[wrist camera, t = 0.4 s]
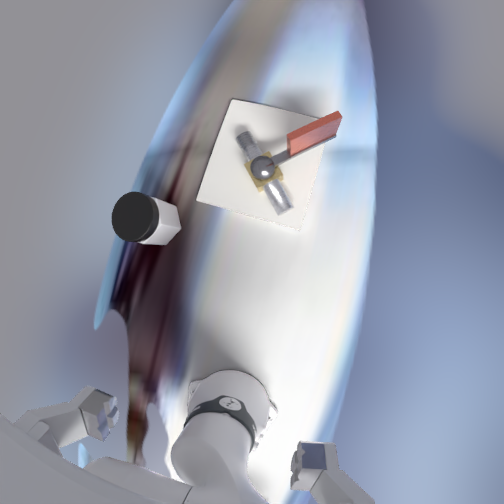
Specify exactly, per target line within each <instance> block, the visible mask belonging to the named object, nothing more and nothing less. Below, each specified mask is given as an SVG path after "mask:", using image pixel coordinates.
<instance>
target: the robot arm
mask: <svg viewBox="0 0 504 504" xmlns="http://www.w3.org/2000/svg"><path fill="white" fill-rule="evenodd" d="M193 391H194V392H193ZM116 404H117V399H116V397H114V396H111V395H109V394H107V393H105V392H102V391H100V390H98V389H96V388H93V387H91V386H89V385H87V386H85V387H84V388H83V389H82V390H81V391H80V392H79V393H78V394H77V395H76V396H75V397H74V398H73V399H72V400H71V401H70V402H69V403H67V402H64V403H60V404H56V405H51V406H47V407H43V408H38V409H34V410H29V411H27V412H26V413H25V414H23V415H22V416H21V417H20V418H19V419H18V420H17V421H16V422H15V423H14V424H13V423H12V422H10V421H9V420H8V419H7V418H6V417H4V416H3V415H2V414H1V413H0V504H269V503H268V502H267V501H266V500H265V499H263V498H262V496H261V495H260V494H259V493H258V492H257V491H256V489H255V488H254V486H253V485H252V483H251V481H250V479H249V476H248V472H247V468H248V458H249V453H250V452H251V451H255V450H256V448H257V446H258V442H257V441H258V440H261V439H262V437H263V433H264V432H265V431H266V429H267V428H268V427H269V426H270V424H271V423H272V422H273V420H274V419H275V418H276V416H277V414H278V411H277V409H276V408H275V407H274V405H273V404H272V403H271V402H270V401H269V398H268V395H267V392H266V390H265V389H264V387H263V386H262V384H261V383H260V382H259V381H258V380H256V379H255V378H254V377H252V376H250V375H249V374H246V373H244V372H240V371H236V370H223V371H218V372H216V373H213V374H211V375H210V376H208V377H207V378H205V379H203V380H197V381H193V382H191V383H190V385H189V399H188V404H187V405H188V417H187V418H186V422H185V424H184V428H183V431H182V432H181V434H180V435H179V437H178V439H177V440H176V442H175V443H174V445H173V447H172V450H171V461H172V464H173V467H174V469H175V471H176V473H177V474H178V476H179V477H180V478H181V480H182V481H183V482H185V483H186V484H185V483H182V482H179V481H177V480H174V479H171V478H168V477H166V476H163V475H161V474H158V473H156V472H154V471H151V470H149V469H147V468H144V467H142V466H138V465H135V464H131V463H128V462H124V461H121V460H117V459H114V458H111V457H102V458H99V459H96V460H94V461H92V462H90V463H89V464H87V465H86V466H85V467H84V468H83V469H82V468H80V467H78V466H77V465H75V464H73V463H71V462H69V461H68V460H66V459H64V458H63V456H62V454H61V452H60V450H59V448H61V447H63V446H66V445H68V444H71V443H73V442H75V441H78V440H80V439H82V438H84V437H87V436H88V435H89V436H91V437H94V438H96V439H98V440H100V441H103V442H104V441H105V439H106V438H107V436H108V435H109V434H110V431H109V429H110V428H113V427H114V426H115V425H116V424H117V421H118V418H119V410H118V409H117V407H116V406H115V405H116ZM269 416H270V418H269ZM291 471H292V472H293V475H292V477H291V490H302V491H310V493H311V494H312V496H313V497H314V499H315V500H316V501H317V503H318V504H375V502H374V500H373V499H372V498H371V497H370V496H369V495H368V494H367V493H366V492H365V491H364V490H363V489H362V488H361V487H359V486H358V485H357V484H356V483H355V482H354V481H353V480H352V479H351V478H350V477H349V476H348V475H347V474H346V473H345V472H344V471H343V470H339V465H338V458H337V451H336V445H335V443H327V442H323V443H322V442H310V441H300V442H299V443H298V445H297V451H295V452H294V455H293V458H292V462H291Z"/></svg>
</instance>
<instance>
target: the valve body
mask: <svg viewBox="0 0 504 504" xmlns="http://www.w3.org/2000/svg"><path fill="white" fill-rule="evenodd" d="M235 140H236V142H237V144H238V146H239V147H240V149H241V151H242V153H243V154H244V156H245V158H246V159H247V161H248V162H247V163H245V164H244V166H245V168H246V170H247V172H248V173H249V175H250V177H251V179H252V181H253V182H254V184H255V186H256V188H257V190H258V191H259V192H261V191H263V190H264V191H265V193H266V195H267V197H268V199H269V200H270V202H271V204H272V206H273V208H274V209H275V211H276V213H277V215H278V216H279V215H282V214H284V213H286V212H288V211H290V210H291V209H293V208H294V205H293V204H292V202H291V200H290V198H289V197H288V195H287V193H286V191H285V189H284V188H283V186H282V184H281V182H280V181H282V180H284V179H283V174H282V172H281V170H280V168H279V167H278V166H277V167H275V171H274V174H273V175H272V176H271V177H270V178H269V179H266V180H259V179H257V178H255V177H254V176H253V174H252V172H251V169H250V165H251V162H252V161H253V159H255V158H256V157H258V156H267V157H269V158H271V157H272V155H271V153H270V152H269V151H268V152H266V153H263V152H262V150H261V148H260V147H259V145H258V143H257V142H256V140H255V138H254V137H253V135H252V133H251V132H250V131H247V132H243V133H241V134H240V135H238V136H237V137H236V139H235Z"/></svg>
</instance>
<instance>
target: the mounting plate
mask: <svg viewBox="0 0 504 504" xmlns="http://www.w3.org/2000/svg"><path fill="white" fill-rule="evenodd" d="M316 120H318V119H317V118H314V117H310V116H306V115H303V114H299V113H295V112H291V111H287V110H283V109H278V108H274V107H269V106H265V105H260V104H255V103H250V102H244V101H239V100H233V99H232V101H231V103H230V106H229V108H228V111H227V114H226V116H225V119H224V122H223V124H222V127H221V130H220V132H219V135H218V138H217V140H216V143H215V146H214V149H213V152H212V154H211V157H210V160H209V163H208V166H207V169H206V172H205V175H204V178H203V181H202V184H201V187H200V190H199V193H198V196H197V199H196V201H199V202H202V203H206V204H210V205H213V206H217V207H220V208H224V209H227V210H231V211H234V212H238V213H241V214H245V215H248V216H252V217H255V218H258V219H262V220H265V221H269V222H272V223H275V224H279V225H282V226H285V227H288V228H292V229H295V230H298V231H301V227H302V224H303V220H304V217H305V214H306V210H307V207H308V203H309V200H310V196H311V193H312V189H313V186H314V182H315V178H316V175H317V171H318V167H319V164H320V160H321V156H322V153H323V149H324V145H325V143H323V144H321V145H319V146H317V147H315V148H312V149H310V150H308V151H306V152H304V153H302V154H300V155H298V156H296V157H294V158H292V159H290V160H288V161H286V162H284V163H283V164H281V165H279V166H278V167H279V168H280V170H281V172H282V174H283V179H284V180H282V181H280V182H281V184H282V186H283V188H284V189H285V191H286V193H287V195H288V197H289V198H290V200H291V202H292V204H293V205H294V208H293V209H291V210H290V211H288V212H286V213H284V214H282V215H279V216H278V215H277V213H276V211H275V209H274V208H273V206H272V204H271V202H270V200H269V199H268V197H267V195H266V193H265V191H264V190H263V191H261V192H259V191H258V190H257V188H256V186H255V184H254V182H253V181H252V179H251V177H250V175H249V173H248V172H247V170H246V168H245V166H244V164H245V163H247V162H248V161H247V159H246V158H245V156H244V154H243V153H242V151H241V149H240V147H239V146H238V144H237V142H236V140H235V139H236V137H237V136H238V135H240V134H241V133H243V132H247V131H250V132H251V133H252V135H253V137H254V138H255V140H256V142H257V143H258V145H259V147H260V148H261V150H262V152H263V153H266V152H268V151H269V152H270V153H271V155H272V157H273V156H275V155H277V154H279V153H280V152H282V151H284V150H286V149H287V135H286V134H288V133H290V132H292V131H295V130H297V129H299V128H301V127H303V126H305V125H307V124H309V123H312V122H314V121H316Z"/></svg>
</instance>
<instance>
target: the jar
mask: <svg viewBox="0 0 504 504" xmlns="http://www.w3.org/2000/svg"><path fill="white" fill-rule="evenodd" d="M112 225H113V228H114V231H115V233H116V234H117V235H118V236H119V237H120V238H121V239H123V240H125V241H129V242H139V243H142V244H154V245H167V244H168V242H169V241H170V240H171V239H172V238H173V237H174V236H175V235H176V234H177V233H178V232H179V231H180V230H181V225H180V220H179V216H178V211H177V207H176V206H174V205H172V204H169V203H167V202H164V201H162V200H159V199H157V198H153V197H149V196H148V195H145V194H142V193H140V192H129V193H127V194H125V195H123V196H122V197H121V198H120V199H119V200H118V201H117V203H116V204H115V206H114V209H113V212H112Z"/></svg>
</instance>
